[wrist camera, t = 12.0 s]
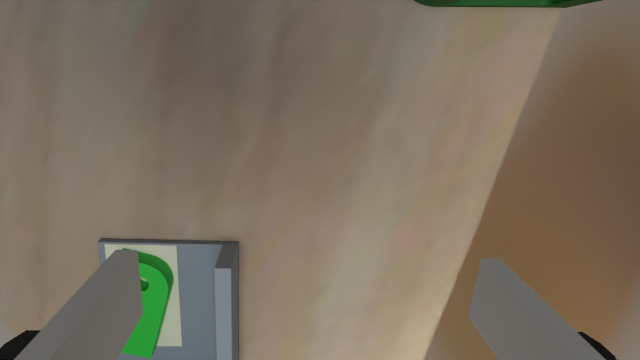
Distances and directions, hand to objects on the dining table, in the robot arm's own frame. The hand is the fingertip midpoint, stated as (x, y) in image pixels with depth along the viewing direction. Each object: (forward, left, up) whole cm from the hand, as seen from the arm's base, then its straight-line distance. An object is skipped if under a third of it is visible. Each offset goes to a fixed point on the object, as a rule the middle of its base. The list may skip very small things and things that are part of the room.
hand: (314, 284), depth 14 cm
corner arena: (+21, -14, -27) cm, 37 cm away
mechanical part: (+19, -17, -26) cm, 37 cm away
